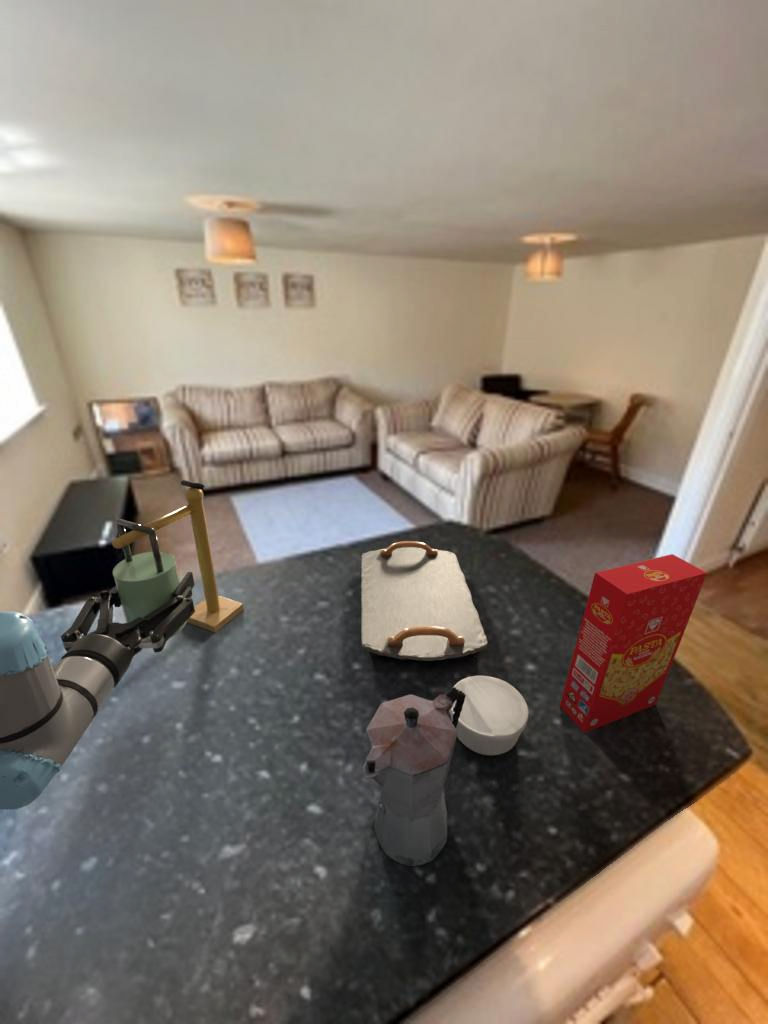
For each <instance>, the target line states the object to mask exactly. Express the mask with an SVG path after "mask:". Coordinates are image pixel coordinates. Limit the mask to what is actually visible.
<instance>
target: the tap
mask: <svg viewBox="0 0 768 1024" xmlns="http://www.w3.org/2000/svg"><path fill="white" fill-rule="evenodd" d="M180 485H182V486H183V487H187V488H188V489H187V490H186V491H185V493H184V497H185V498H184V499H185V500H186V501H187V504H186V505H184V506H182V507H180V508H177V509H175V510H174V511H172V512H169V513H167V514H165V515H163V516H160V517H159V518H158V517H157V518H156V519H154V520H152V521H150V522H148V523H145V524H144V525H143V526H147V527H150V528H153V529H155V532H157V531H159V530H160V529H163V528H164V527H166V526H169V525H171V524H172V523H173V524H174V523H175V522H177V521H179V520H181V519H182V518H185V517H187V516H190V522H191V528H192V533H193V538H194V543H195V549H196V550H195V551H196V554H197V555H196V556H197V560H198V565H199V571H200V577H201V578H200V579H201V583H202V588H203V589H202V590H203V594H204V599H203V600H202V601H200V602H198V604H196V605H194V609H195V612H194V614H193V615H192V616H191V617H190V618H189V619H188V620H187V622H186V623H188V622H190V623H189V624H191V623H192V625H194V624H195V625H194V626H196V625H197V627H200V628H202V629H204V630H206V631H209V632H212V633H215V634H216V633H217V632H219V631H220V630H221V629H222V628H224V627H225V626H226V625H227V624H228V623H229V622H231V621H232V620H233V619H234V618H235V617H237V616H238V615H239V614H240V613H242V612H243V611H244V610H245V609H244V608H245V607H244V603H242V602H240V601H237V600H234V599H231V598H228V597H225V596H221V595H219V593H218V588H217V580H216V574H215V568H214V562H213V555H212V550H211V544H210V543H211V542H210V537H209V532H208V526H207V525H208V524H207V519H206V518H207V517H206V513H205V507H204V501H203V500H204V491H203V490H205V485H204V484H203V483H199V482H194V481H190V480H187V479H182V480H181V481H180ZM146 536H149V534H147V533H143V532H140V531H137V530H133V529H132V530H130V531H129V532H126V534H124V535H122V536H120V537H119V536H118V537H115V538H114V539H113V540H112V543H111V545H112V546H113V548H114V549H123V548H122V547H124V546H126V545H128V544H129V545H130V544H132V543H134V542H136V541H138V540H140V539H142V538H144V537H146Z"/></svg>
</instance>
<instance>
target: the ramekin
mask: <svg viewBox="0 0 768 1024" xmlns="http://www.w3.org/2000/svg"><path fill="white" fill-rule="evenodd" d="M453 687H455V688H456V689H457V690H458V689H459V691H462V692H463V693H464V694H465V695H466V697H465V701H464V704H463V707H462V711H461V713H460V717H459V719H458V724H457V727H456V731H457V733H458V734H457V738H458V740H459V742H461V744H463V745H464V746H465V747H466V748H468V749H469V750H471V751H473V752H474V753H477V754H479V755H483V756H498V755H502V754H505V753H507V752H509V751H510V750H512V749H513V748H514V747H515V745H516V744H517V742H518V740H519V738H520V736H521V735H522V732H523V731H524V730H525V729H526V727H527V724H528V721H529V707H528V704H527V702H526V699H525V698H524V697H523V695H522V694H521V693H520V692H519V691H518V690H517V688H515V687H514V686H513V685H512V684H510V683H509V682H507V681H505V680H502V679H501V678H498V677H493V676H489V675H473V676H468V677H465V678H463V679H461V680H459V681H457V682H456V684H454V686H453ZM455 703H456V701H455V702H454V704H453V707H452V708H451V709H450V710H449V711H448V712H449V714H450V720H451V721H453V714H454V712H453V708H454V707H455Z"/></svg>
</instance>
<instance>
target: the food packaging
mask: <svg viewBox="0 0 768 1024" xmlns="http://www.w3.org/2000/svg"><path fill="white" fill-rule="evenodd" d="M707 574H708V572H707V571H705V570H703V569H702V568H700V567H698V566H696V565H694V564H692V563H690V562H688V561H687V560H685V559H682V558H680V557H679V556H677V555H675V554H672V553H671V554H666V555H662V556H658V557H654V558H649V559H646V560H642V561H638V562H633V563H629V564H623V565H621V566H617V567H612V568H608V569H603V570H599V571H595V572H594V575H593V578H592V582H591V587H590V591H589V594H588V598H587V602H586V605H585V609H584V612H583V616H582V621H581V624H580V627H579V632H578V636H577V639H576V643H575V647H574V651H573V655H572V657H571V658H572V659H571V661H570V666H569V670H568V674H567V678H566V681H565V685H564V688H563V693H562V695H561V699H560V703H559V707H560V708H561V709H562V710H563V711H564V712H565V714H567V716H568V717H569V718H570V719H571V720H572V721H573V722H574V723H575V725H577V726H578V727H579V729H580V730H581V731H582V732H583V733H586V734H587V733H589V732H591V731H593V730H596V729H598V728H601V727H603V726H606V725H608V724H611V723H613V722H615V721H619V720H620V719H623V718H625V717H629V716H631V715H633V713H634V714H636V713H639V712H641V711H644V710H646V709H648V707H649V708H651V707H653V705H654V706H656V705H657V702H658V701H659V697H660V695H661V693H662V691H663V688H664V685H665V682H666V680H667V678H668V675H669V672H670V669H671V668H672V665H673V662H674V659H675V657H676V655H677V652H678V649H679V646H680V644H681V642H682V639H683V636H684V633H685V632H686V629H687V626H688V623H689V621H690V619H691V616H692V614H693V611H694V609H695V605H696V603H697V601H698V598H699V596H700V593H701V590H702V588H703V585H704V582H705V580H706V577H707ZM655 704H656V705H655ZM643 709H644V710H643ZM640 710H641V711H640ZM638 711H639V712H638ZM635 712H636V713H635Z"/></svg>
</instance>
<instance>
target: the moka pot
mask: <svg viewBox="0 0 768 1024" xmlns="http://www.w3.org/2000/svg"><path fill="white" fill-rule="evenodd" d="M465 697H466V695H465V694H464V693H463V692H462V691H459V689H458V690H457V689H456V688H455V687H454V686H453V687H451V688H450V689H449V691H447V693H446V694H441V693H440V694H439V695H438V696H437V697H436V698H434V699H433V700H430V699H427V698H424V697H421V696H418V695H414V694H408V695H407V694H406V695H403V696H401V697H398V698H395V699H391V700H388V701H385V702H382V703H381V704H379V707H378V708H377V710H376V712H375V713H374V715H373V717H372V719H371V720H370V722H369V724H368V725H367V727H366V730H365V735H366V739H367V745H368V748H369V753H368V755H367V757H366V759H365V761H364V764H363V766H362V776H363V778H364V779H366V780H371V779H372V780H373V781H374V782H375V783H376V784H377V785H378V786H379V794H378V795H379V796H378V802H377V809H376V815H375V823H374V833H375V836H376V838H377V841H378V843H379V845H380V847H381V848H382V850H383V852H384V854H385V855H386V856H387V857H389V858H390V859H392V860H393V861H395V862H397V863H398V864H401V865H404V866H408V867H416V866H421V865H425V864H429V863H431V862H432V861H433V860H434V859H435V858H437V856H438V855H439V854H440V852H441V851H442V850H443V848H444V847H445V846H446V843H447V841H448V811H447V806H446V805H447V804H446V798H445V793H444V786H445V783H446V780H447V777H448V773H449V769H450V764H451V761H452V756H453V752H454V749H455V745H456V742H457V738H458V737H457V734H458V733H457V731H456V727H457V724H458V719H459V717H460V713H461V711H462V707H463V704H464V701H465ZM455 701H456V703H455V707H454V708H453V712H454V714H453V721H452V720H451V717H449V714H448V712H450V711H449V710H450V709H451V708H452V707H453V704H454V702H455Z"/></svg>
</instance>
